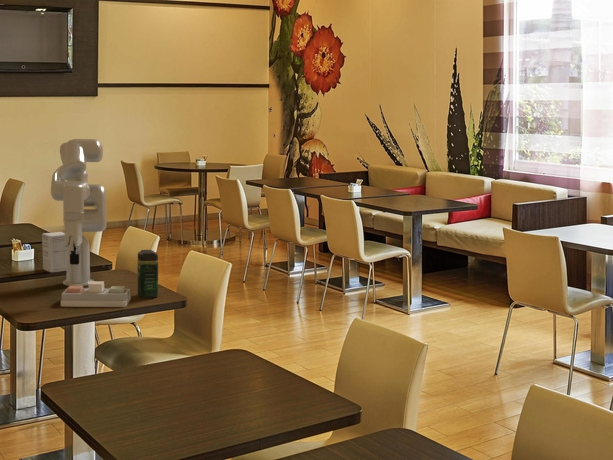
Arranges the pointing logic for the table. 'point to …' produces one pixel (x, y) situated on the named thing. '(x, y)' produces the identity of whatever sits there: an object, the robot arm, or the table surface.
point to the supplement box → (54, 252)
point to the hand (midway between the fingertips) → (74, 264)
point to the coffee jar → (147, 274)
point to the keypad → (96, 299)
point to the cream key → (96, 287)
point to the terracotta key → (75, 289)
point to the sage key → (117, 289)
